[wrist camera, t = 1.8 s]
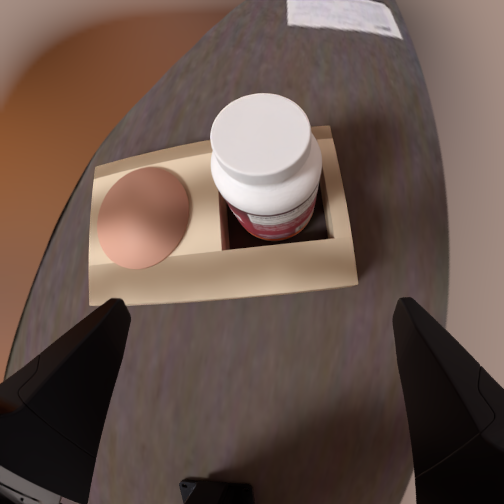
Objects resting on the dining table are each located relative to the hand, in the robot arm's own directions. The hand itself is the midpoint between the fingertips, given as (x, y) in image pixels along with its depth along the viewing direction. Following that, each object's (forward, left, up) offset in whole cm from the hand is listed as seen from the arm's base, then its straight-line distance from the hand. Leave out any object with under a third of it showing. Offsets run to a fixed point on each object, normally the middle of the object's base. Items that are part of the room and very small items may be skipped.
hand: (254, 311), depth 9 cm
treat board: (+7, +4, -13) cm, 16 cm away
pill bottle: (+8, -1, -14) cm, 16 cm away
